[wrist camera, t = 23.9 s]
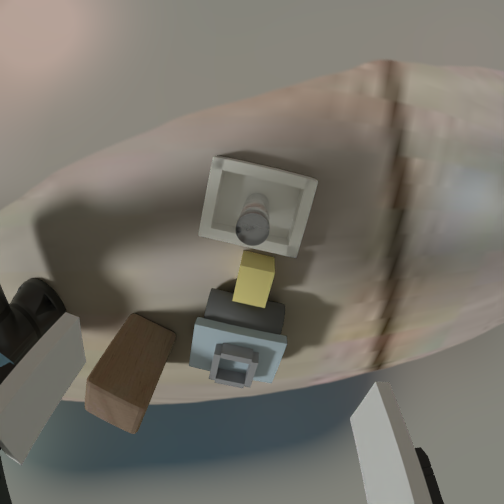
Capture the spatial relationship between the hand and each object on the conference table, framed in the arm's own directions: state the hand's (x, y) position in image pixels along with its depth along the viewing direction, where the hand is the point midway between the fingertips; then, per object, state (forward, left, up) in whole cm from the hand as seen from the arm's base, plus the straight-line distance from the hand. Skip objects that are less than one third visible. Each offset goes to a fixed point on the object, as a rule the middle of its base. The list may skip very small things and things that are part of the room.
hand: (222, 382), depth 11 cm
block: (-15, -31, -36) cm, 49 cm away
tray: (0, 0, -35) cm, 35 cm away
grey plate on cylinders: (+2, -22, -35) cm, 42 cm away
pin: (0, 0, -35) cm, 35 cm away
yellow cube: (+2, -11, -36) cm, 37 cm away
